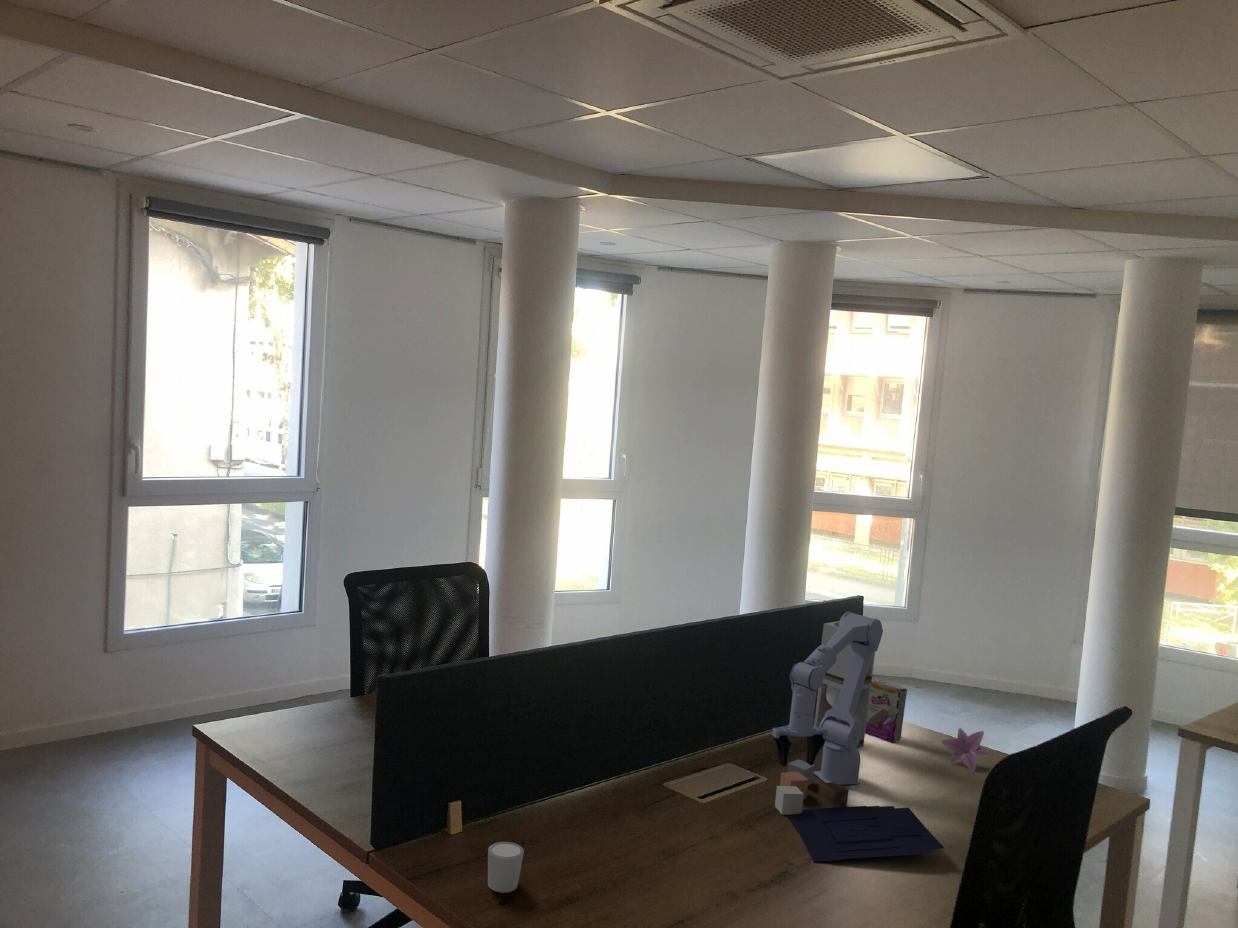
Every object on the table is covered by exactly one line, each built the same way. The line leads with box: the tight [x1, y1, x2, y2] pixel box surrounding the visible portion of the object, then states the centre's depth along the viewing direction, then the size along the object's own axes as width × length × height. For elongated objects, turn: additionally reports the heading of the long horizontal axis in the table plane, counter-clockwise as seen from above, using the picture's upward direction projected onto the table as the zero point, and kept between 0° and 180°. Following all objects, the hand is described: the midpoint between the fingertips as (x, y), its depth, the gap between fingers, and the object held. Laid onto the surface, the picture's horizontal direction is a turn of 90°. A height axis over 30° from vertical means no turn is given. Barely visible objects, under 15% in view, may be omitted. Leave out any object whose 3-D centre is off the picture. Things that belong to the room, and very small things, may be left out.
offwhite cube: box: [774, 785, 804, 815], centre depth 230 cm, size 5×5×5 cm
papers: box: [785, 805, 946, 862], centre depth 218 cm, size 24×30×4 cm
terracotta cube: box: [779, 772, 809, 800], centre depth 239 cm, size 5×5×5 cm
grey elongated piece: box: [813, 620, 876, 749], centre depth 279 cm, size 11×11×35 cm
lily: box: [940, 727, 990, 772], centre depth 274 cm, size 12×12×10 cm
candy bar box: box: [865, 678, 908, 744], centre depth 290 cm, size 11×5×16 cm, turn 46°
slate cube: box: [786, 758, 815, 786], centre depth 248 cm, size 5×5×5 cm
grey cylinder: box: [487, 841, 525, 894], centre depth 183 cm, size 7×7×7 cm
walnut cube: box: [816, 781, 850, 808], centre depth 235 cm, size 5×5×5 cm
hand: (796, 764), depth 239 cm, fingers open, 7 cm apart
